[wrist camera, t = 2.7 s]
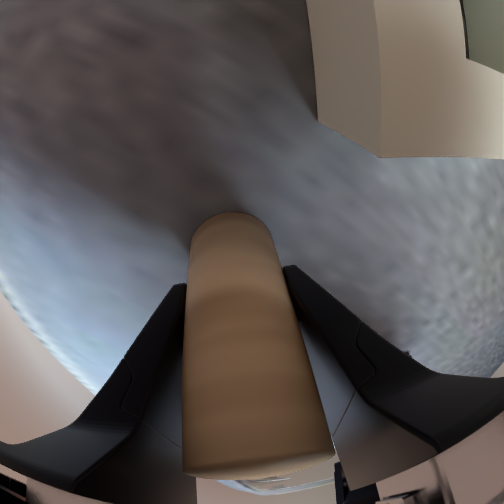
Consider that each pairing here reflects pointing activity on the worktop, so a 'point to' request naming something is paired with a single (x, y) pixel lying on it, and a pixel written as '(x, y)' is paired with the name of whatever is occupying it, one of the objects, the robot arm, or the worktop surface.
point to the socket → (411, 75)
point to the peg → (245, 361)
